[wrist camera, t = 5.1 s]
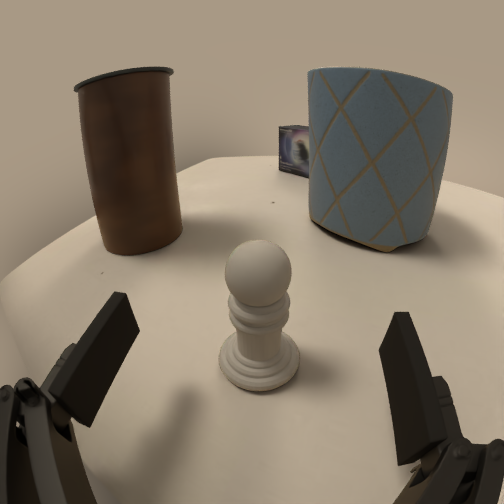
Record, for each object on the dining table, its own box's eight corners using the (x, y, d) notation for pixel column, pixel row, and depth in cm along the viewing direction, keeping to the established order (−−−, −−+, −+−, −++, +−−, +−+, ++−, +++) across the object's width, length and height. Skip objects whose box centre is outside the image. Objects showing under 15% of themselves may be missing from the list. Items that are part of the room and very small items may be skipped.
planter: (351, 192, 48) (358, 85, 38) (444, 229, 35) (464, 102, 25) (275, 215, 39) (275, 70, 28) (396, 276, 25) (427, 71, 15)
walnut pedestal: (94, 259, 29) (62, 90, 19) (115, 222, 38) (96, 92, 28) (181, 249, 31) (163, 66, 21) (184, 213, 40) (173, 77, 30)
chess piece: (285, 403, 15) (302, 287, 10) (205, 378, 16) (179, 261, 12) (306, 342, 19) (323, 228, 14) (238, 325, 21) (231, 214, 16)
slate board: (56, 92, 18) (56, 87, 18) (94, 93, 29) (94, 90, 28) (168, 65, 20) (168, 60, 20) (177, 77, 30) (177, 74, 30)
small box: (276, 170, 61) (276, 125, 56) (295, 166, 65) (296, 124, 60) (313, 180, 54) (315, 130, 49) (330, 175, 58) (333, 129, 53)
